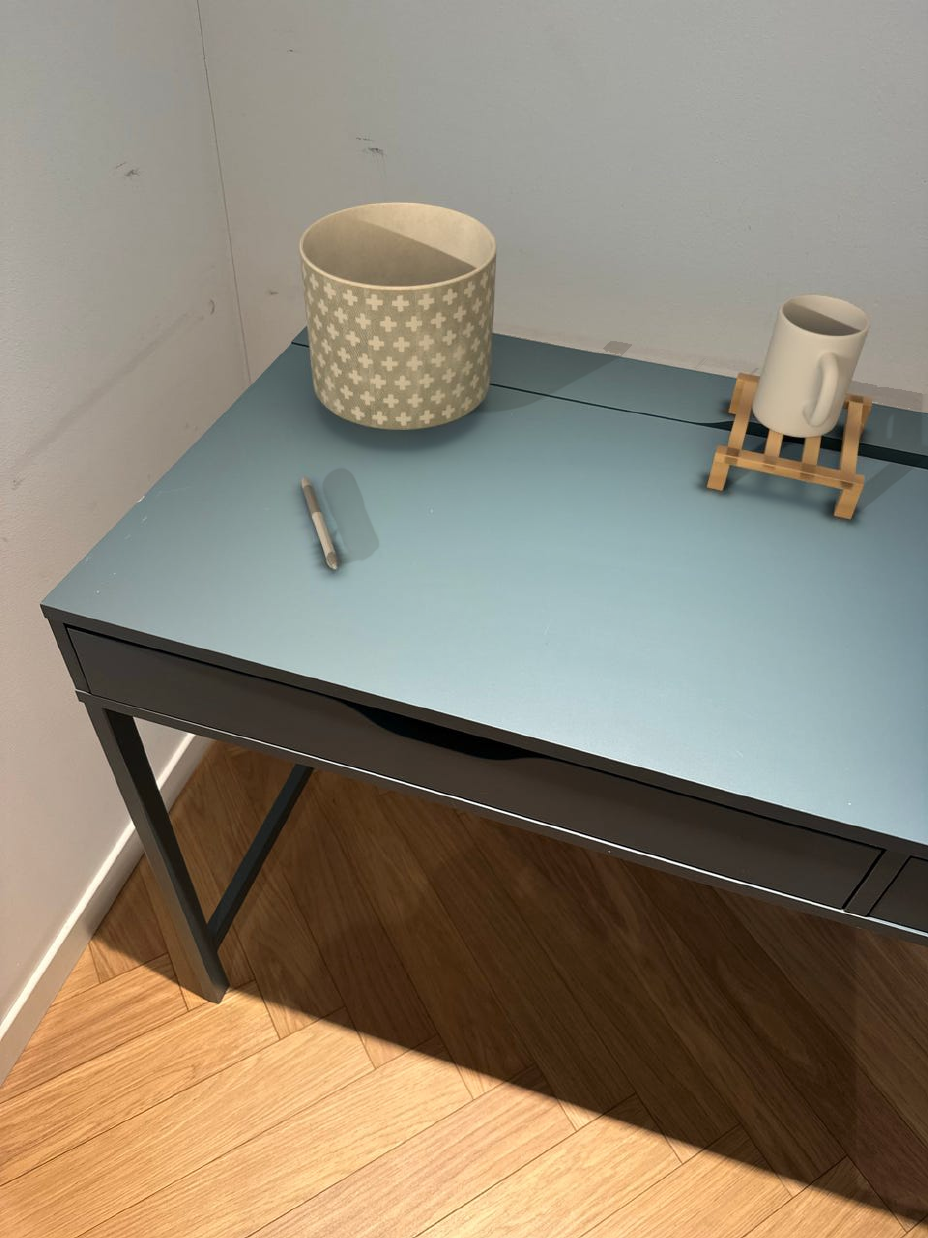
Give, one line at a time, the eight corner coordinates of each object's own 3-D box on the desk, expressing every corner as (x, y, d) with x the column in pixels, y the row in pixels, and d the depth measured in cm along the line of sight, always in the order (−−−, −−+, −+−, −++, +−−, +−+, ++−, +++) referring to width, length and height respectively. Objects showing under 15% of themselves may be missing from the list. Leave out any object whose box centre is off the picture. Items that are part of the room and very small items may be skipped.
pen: (330, 576, 86) (329, 565, 85) (299, 485, 95) (297, 473, 94) (341, 574, 86) (340, 562, 85) (309, 483, 95) (308, 471, 94)
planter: (509, 441, 101) (520, 276, 88) (330, 465, 97) (314, 296, 84) (464, 350, 114) (468, 194, 101) (304, 368, 110) (287, 209, 97)
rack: (850, 519, 93) (864, 485, 90) (706, 487, 96) (715, 452, 93) (860, 431, 104) (872, 397, 101) (730, 405, 107) (738, 371, 104)
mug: (745, 389, 101) (771, 291, 94) (826, 393, 101) (859, 295, 93) (764, 456, 93) (794, 355, 85) (853, 461, 93) (891, 359, 85)
